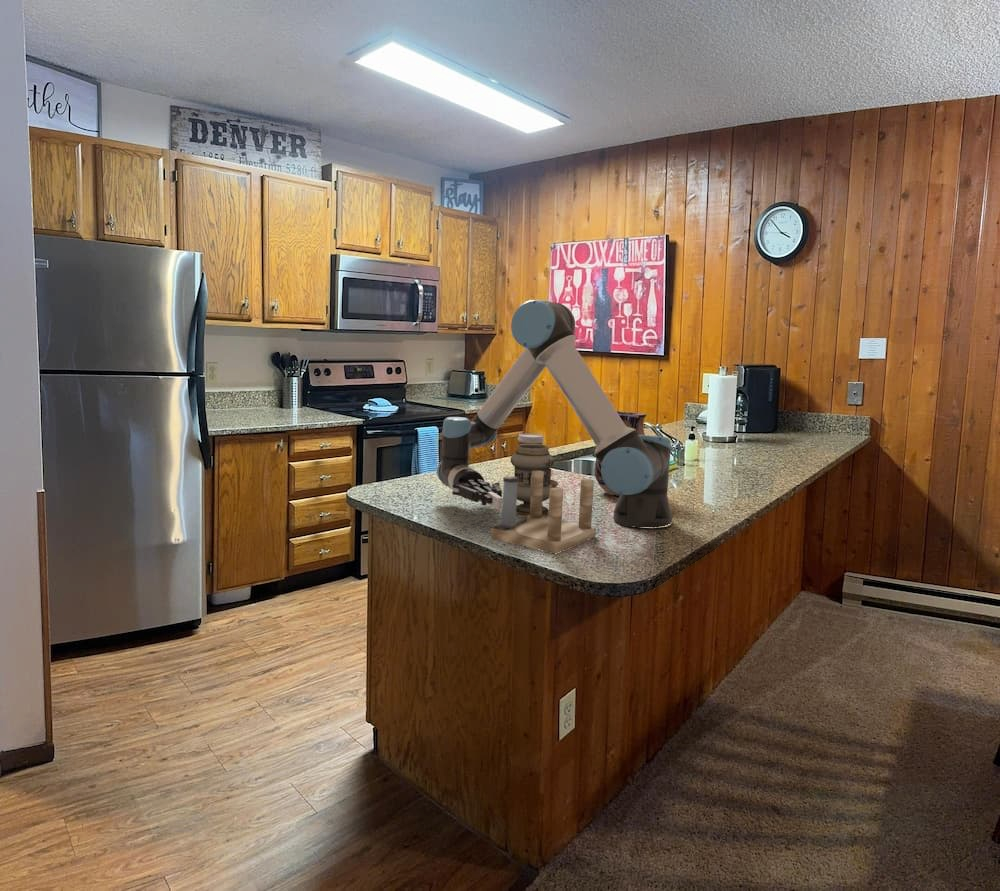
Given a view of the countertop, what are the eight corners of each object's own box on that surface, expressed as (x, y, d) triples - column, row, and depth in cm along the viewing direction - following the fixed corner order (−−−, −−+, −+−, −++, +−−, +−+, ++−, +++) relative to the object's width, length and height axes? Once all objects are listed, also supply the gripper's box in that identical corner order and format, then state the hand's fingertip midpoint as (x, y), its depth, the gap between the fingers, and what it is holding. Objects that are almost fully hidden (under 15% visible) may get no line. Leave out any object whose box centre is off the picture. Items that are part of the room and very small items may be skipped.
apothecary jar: (501, 506, 197) (503, 442, 194) (540, 504, 201) (543, 441, 199) (519, 517, 186) (522, 449, 183) (560, 514, 190) (563, 448, 188)
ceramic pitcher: (613, 502, 207) (618, 417, 203) (576, 487, 226) (581, 409, 222) (662, 498, 214) (668, 416, 211) (623, 484, 233) (628, 408, 230)
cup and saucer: (521, 482, 230) (521, 464, 229) (558, 485, 229) (559, 466, 228) (518, 490, 219) (519, 471, 218) (557, 493, 217) (558, 473, 216)
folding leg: (517, 517, 174) (519, 470, 172) (530, 519, 173) (532, 472, 171) (498, 528, 164) (500, 478, 163) (512, 530, 163) (514, 480, 161)
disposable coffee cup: (548, 468, 256) (549, 436, 254) (530, 471, 249) (532, 438, 247) (528, 464, 262) (529, 432, 260) (510, 467, 255) (512, 434, 253)
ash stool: (595, 537, 170) (599, 480, 168) (556, 554, 156) (559, 491, 154) (532, 523, 180) (535, 469, 178) (490, 538, 166) (492, 479, 164)
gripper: (488, 495, 189) (524, 518, 167) (442, 497, 184) (473, 521, 163) (489, 467, 188) (526, 486, 166) (443, 468, 183) (474, 489, 161)
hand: (500, 503), depth 164 cm, fingers closed
